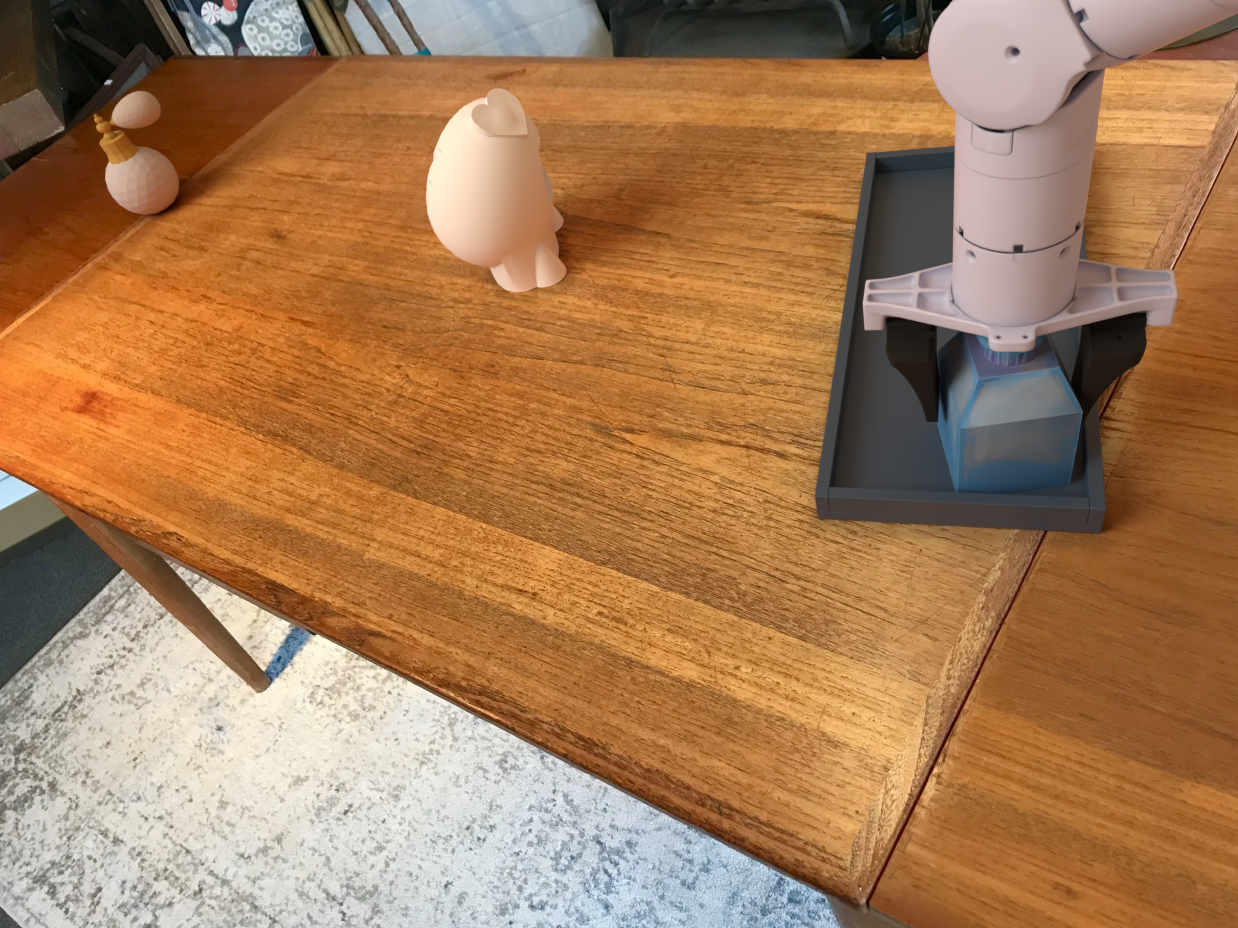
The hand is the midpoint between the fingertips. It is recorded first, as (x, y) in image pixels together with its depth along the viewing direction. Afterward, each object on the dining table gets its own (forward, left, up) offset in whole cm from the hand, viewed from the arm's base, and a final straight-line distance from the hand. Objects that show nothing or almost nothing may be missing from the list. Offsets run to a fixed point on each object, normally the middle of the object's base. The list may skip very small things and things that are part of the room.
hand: (1002, 410), depth 54 cm
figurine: (+40, -21, -4) cm, 46 cm away
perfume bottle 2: (0, 0, -4) cm, 4 cm away
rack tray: (+2, -12, -4) cm, 13 cm away
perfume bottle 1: (+90, -35, -4) cm, 97 cm away
